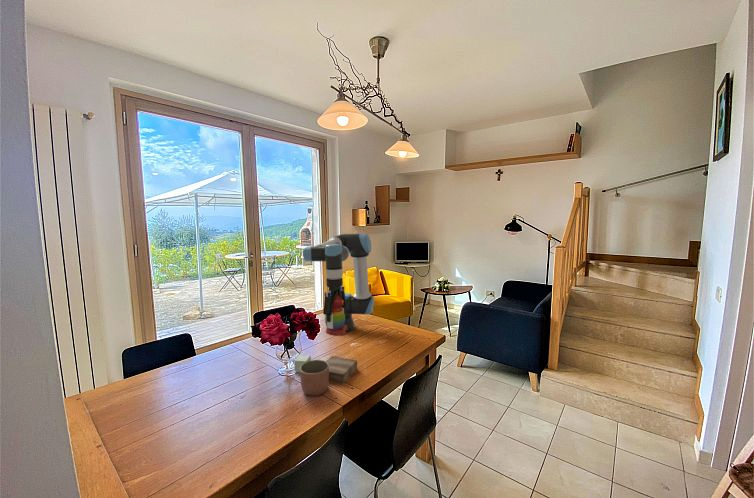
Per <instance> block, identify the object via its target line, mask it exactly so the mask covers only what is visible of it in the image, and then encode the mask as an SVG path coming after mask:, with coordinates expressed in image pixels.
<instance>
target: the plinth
mask: <svg viewBox="0 0 754 498" xmlns="http://www.w3.org/2000/svg"><path fill="white" fill-rule="evenodd" d="M325 361H326V362H327V363H328V364H329V382H332V383H337V384H341V385H345V383H346V382H347V381H348V380H349V379H350V378H351V377H352V376H353V374H354V373H355V372H356V371H357V370H358V360H356V359H351V358H345V357H339V356H335V355H334V356H333V355H331V356H330V357H329V358H327V360H325Z"/></svg>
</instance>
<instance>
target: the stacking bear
mask: <svg viewBox="0 0 754 498" xmlns="http://www.w3.org/2000/svg"><path fill="white" fill-rule="evenodd" d="M332 298H334V297H332ZM343 303H344V301H343V299H341V298H340V296H336V300H334V305H333V309H332V314H333V329H330V328H327V316H326V315H325V314H324V322H325V327H326V329H325V333H326V334H327V335H329V336H336V337H343V336H346V335H347V332H346V331H345V330H347V329H348V326H347V325H344V323H345V314H344V310H343V308H342V305H343Z"/></svg>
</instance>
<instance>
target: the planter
mask: <svg viewBox="0 0 754 498" xmlns="http://www.w3.org/2000/svg"><path fill="white" fill-rule="evenodd" d="M326 361H327V360H321V359H312V360H311V361H308V362H306V363H304V364H302V365H301V367H300V373H299V374H300V375H299V376H300V377H299V379H300V386H301V389H302V391H303V393H304V394H306V395H307V396H311V397H314V396H315V397H316V396H320V395H321V394H324V393H325V392H326V391H327V390H328V388H329V385H330V381H329V364H328V363H327V362H326Z"/></svg>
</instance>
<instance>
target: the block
mask: <svg viewBox="0 0 754 498" xmlns="http://www.w3.org/2000/svg"><path fill="white" fill-rule="evenodd" d="M311 359H312V357H311V355H309V354H308V355H305V354H304V355H302V354H299V355H297V357H296V358H295V359H294V361H293V363H294V365H293V366H294V372H295V371H296V372H295V373H299V374H300V367H301V365H302V364H304V363H306V362H308V361H312V360H311Z"/></svg>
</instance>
